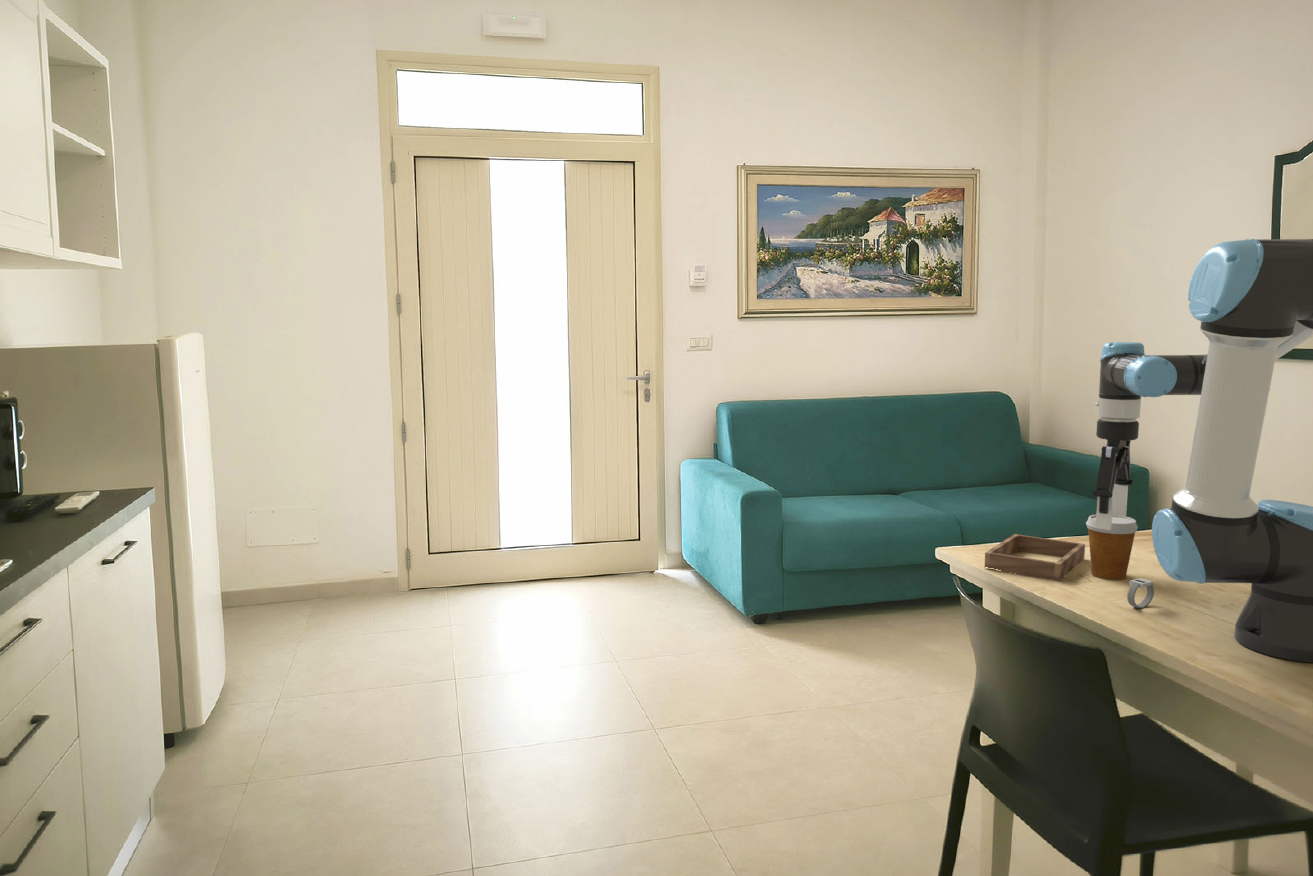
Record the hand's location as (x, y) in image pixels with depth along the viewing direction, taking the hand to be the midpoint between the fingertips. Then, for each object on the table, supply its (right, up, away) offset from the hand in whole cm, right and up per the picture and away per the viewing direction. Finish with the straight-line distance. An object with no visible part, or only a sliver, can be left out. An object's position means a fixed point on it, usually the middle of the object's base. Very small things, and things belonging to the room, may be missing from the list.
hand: (1111, 522), depth 181 cm
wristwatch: (-4, -14, -18) cm, 23 cm away
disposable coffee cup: (0, -11, +1) cm, 11 cm away
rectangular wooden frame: (-11, -10, +10) cm, 18 cm away
